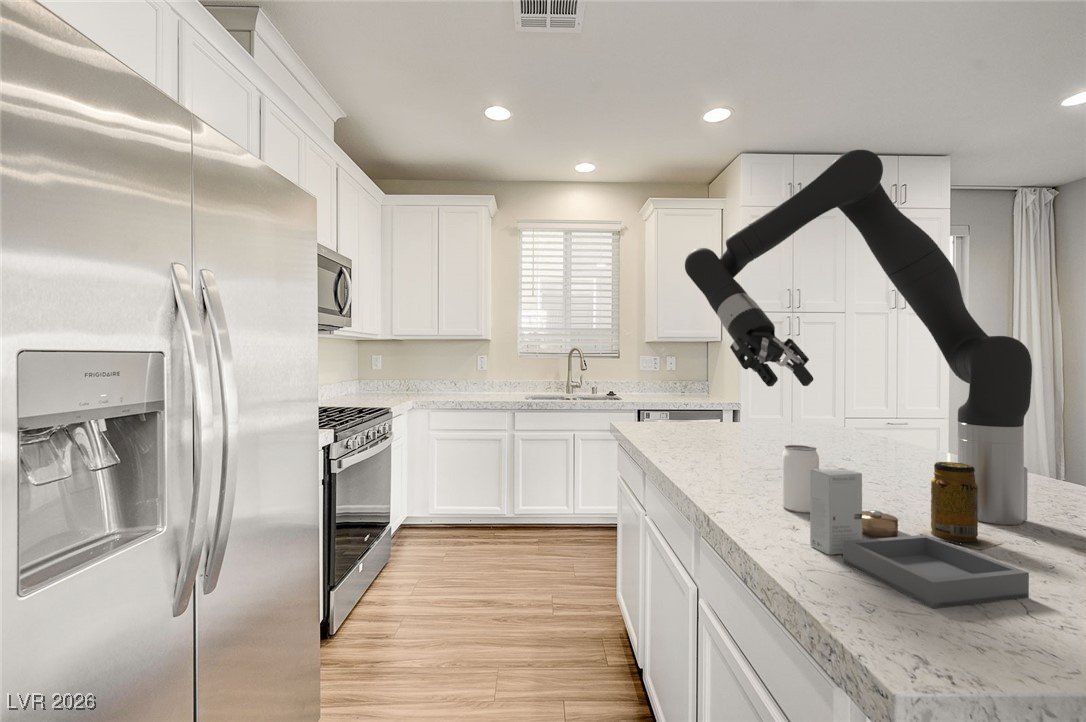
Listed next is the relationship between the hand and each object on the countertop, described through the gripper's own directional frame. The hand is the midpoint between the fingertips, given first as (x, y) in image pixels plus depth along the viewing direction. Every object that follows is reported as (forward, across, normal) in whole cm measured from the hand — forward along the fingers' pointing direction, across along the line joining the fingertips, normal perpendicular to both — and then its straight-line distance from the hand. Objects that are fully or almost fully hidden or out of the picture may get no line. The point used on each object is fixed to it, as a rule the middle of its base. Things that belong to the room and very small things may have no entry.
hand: (791, 383), depth 93 cm
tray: (+35, -2, 0) cm, 35 cm away
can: (+14, +10, +22) cm, 28 cm away
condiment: (+29, +19, +6) cm, 35 cm away
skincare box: (+26, -3, +9) cm, 28 cm away
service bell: (+25, +7, +10) cm, 28 cm away
